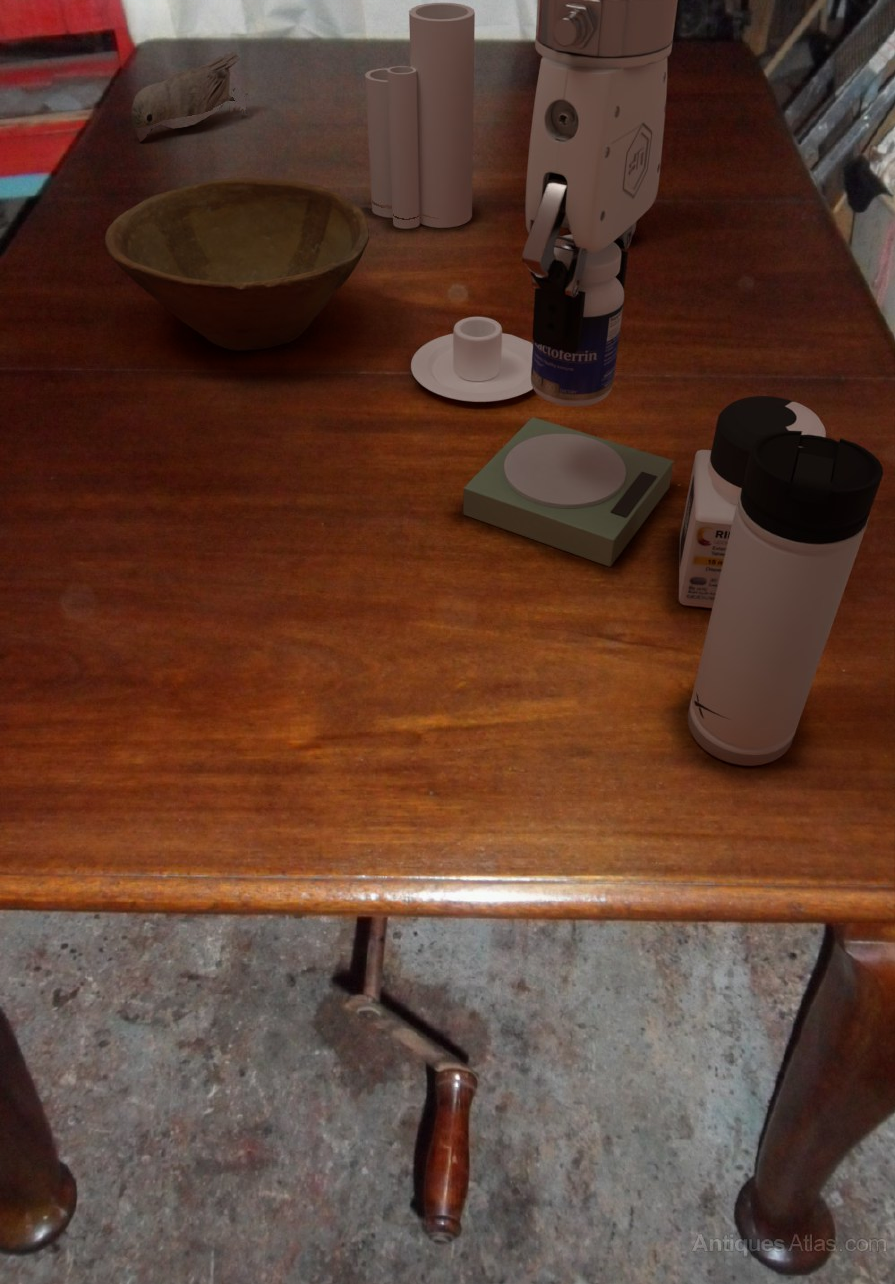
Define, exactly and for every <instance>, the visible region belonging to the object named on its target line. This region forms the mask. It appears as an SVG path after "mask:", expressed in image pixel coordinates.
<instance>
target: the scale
mask: <svg viewBox="0 0 895 1284" xmlns="http://www.w3.org/2000/svg"><path fill="white" fill-rule="evenodd" d="M674 464H675V461H674V460H672V459H669V458H666V457H663V456H659V455H657V454H654V453H650V452H647V451H644V450H641V449H638V448H634V447H631V446H628V445H625V444H621V443H618V442H614V441H612V440H609V439H605V438H602V437H599V436H595V435H592V434H589V433H587V432H583V431H579V430H576V429H574V428H569V427H566V426H563V425H560V424H557V423H554V422H552V421H551V422H550V421H547V420H545V419H541V418H538V417H534V416H532V417H531V418H530V419H528V421H526V423H525V424H524V425H523V426H521V428H520V429H519V430H518V431H517V432H516V433H515V434H514V435H513V436H512V437H511V439H509V441H508V442H507V443H505V444H504V446H503V447H502V448H501V449H499V450H498V452H496V454H494V456H493V457H492V458H491V459H490V460H489V461H488V462H487V463H486V464H485V465H484V466H483V467H482V468H481V469H480V470H479V471H478V472H477V473H476V475H475V476H473V477H472V479H470V481H468V482H467V484H466V485H465V486H464V487H463V499H462V501H463V505H462V506H463V507H462V508H463V510H462V511H463V516H466V517H469V518H472V519H475V520H477V521H479V522H483V523H485V524H487V525H491V526H494V527H497V528H499V529H501V530H505V531H508V532H511V533H514V534H516V535H519V536H522V537H525V538H528V539H530V540H533V541H536V542H538V543H542V544H544V545H547V546H550V547H552V548H556V549H558V550H561V551H564V552H566V553H570V554H572V555H575V556H577V557H581V558H584V559H586V560H589V561H592V562H594V563H598V564H600V565H602V566H605V567H608V568H611V567H612V566H613V565H614V563H615V562H616V560H617V559H618V558H619V556H620V555H621V553H622V552H623V551H624V549H626V547H627V545H628V544H629V543H630V541H631V540H632V538H633V537H634V536H635V535H636V533H637V532H638V530H639V529H640V528H641V526H642V525H643V524H644V523H645V521H646V519H647V518H648V517H649V516H650V514H651V513H652V511H653V510H654V509H655V507H656V506H657V505H658V504H659V502H660V500H661V499H662V498H663V497H664V495H665V494H666V493H667V492H668V490H669V488H670V487H671V480H672V474H673V470H674Z"/></svg>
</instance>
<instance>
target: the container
mask: <svg viewBox="0 0 895 1284" xmlns="http://www.w3.org/2000/svg"><path fill="white" fill-rule="evenodd" d="M779 431H802V434H801V435H815V436H821V437H827V433H826V427H825V426H824V424H823V422H822V421H821V419H820V417H819V416H818V415H817V414H816V413H815V412H814V411H813V410H811V409H810V408H808V407H807V406H805V405H804V404H801V403H799V402H797V401H794V400H791V399H788V398H783V397H779V396H769V395H754V396H747V397H743V398H740V399H737V400H735V401H733V402H732V403H730V404H729V405H727V406H726V407H725V408H723V409H722V410H721V411H720V412H719V415H718V416H717V421H716V426H715V430H714V436H713V441H712V445H711V450H710V449H698V450H697V451H696V453H695V455H694V460H693V465H692V470H691V475H690V481H689V486H688V491H687V495H686V502H685V507H684V511H683V516H682V517H683V518H682V523H681V526H680V527H681V528H680V534H679V566H678V572H679V573H678V602H679V603H680V604H681V605H683V606H688V607H699V608H705V609H712V608H713V604H714V600H715V596H716V591H717V587H718V583H719V578H720V574H721V570H722V566H723V561H724V557H725V553H726V548H727V544H728V540H729V536H730V531H731V527H732V523H733V519H734V514H735V510H736V506H737V504H738V497H739V493H740V490H741V488H742V485H743V482H744V479H745V472H746V468H747V464H748V459H749V455H750V451H751V447H752V446H753V444H754V442H755V441H757V440H758V439H759V438H761V437H763V436H765V435H767V434H770V433H774V432H779Z"/></svg>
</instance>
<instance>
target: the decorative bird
mask: <svg viewBox="0 0 895 1284" xmlns="http://www.w3.org/2000/svg"><path fill="white" fill-rule="evenodd" d="M238 54H239V53H238V52H237V51H233V52H230V53H226V54H224V55H223V56H221V55H219V56H218V57H216V58H214V59H213V60H211V61H208V62H207V63H205V64H203V65H202V66H197V67H193V68H188V69H186V70H182V71H180V72H176V73H175V74H173V75H172V76H170V77H167V78H166V79H165V80H163V81H161V82H156V83H152V84H149V85H147V86H145V87H143V88H141V89H140V90H139V91H138V92H137V93H136V94H135V97H134V99H133V101H132V104H131V121H132V126H133V127H134V126H135V127H137V128H142V127H146V126H150V125H153V124H156V123H159V122H161V121H163V120H169V119H175V118H180V117H187V116H192V115H198V114H203V113H205V112H208V111H211V110H213V108H215V107H217V106H219V105H221V104H223V103H224V104H225V102H229V101H236V99H235V100H234V98H235V97H234V98H233V97H231V94H230V83H231V82H230V79H231V78H230V77H231V72H230V69H231V67H233V66H234V65H235V64H236V63H237V62H239V61H240V60H241V57H240V56H239V55H238ZM235 90H236V87H235V88H233V89H232V91H234V92H235ZM245 95H247V96H248V93H245ZM224 104H223V105H224Z"/></svg>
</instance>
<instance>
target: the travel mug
mask: <svg viewBox="0 0 895 1284" xmlns="http://www.w3.org/2000/svg"><path fill="white" fill-rule="evenodd" d="M801 434H802V431H779V432H774V433H770V434H767V435H765V436H763V437H761V438H759V439H758V440H757V441H755V442H754V444H753V446H752V447H751V451H750V455H749V459H748V464H747V468H746V472H745V479H744V482H743V485H742V488H741V490H740V493H739V497H738V504H737V506H736V510H735V514H734V519H733V523H732V527H731V531H730V536H729V540H728V544H727V548H726V553H725V557H724V561H723V566H722V570H721V574H720V578H719V583H718V587H717V591H716V596H715V600H714V604H713V608H711V613H710V618H709V621H708V626H707V630H706V634H705V639H704V643H703V647H702V651H701V657H700V660H699V664H698V669H697V673H696V678H695V680H694V681H695V682H694V686H693V690H692V696H691V699H690V702H689V707H688V711H687V726H688V729H689V731H690V734H691V736H692V737H693V739H694V740H695V742H696V743H697V744H698V745H699V746H700V747H701V748H702V749H703V750H704V751H705V752H706V753H709V754H710V755H711V756H713V757H715V758H717V759H719V760H721V761H724V762H726V763H728V764H733V765H738V766H747V767H749V766H750V767H753V766H762V765H765V764H769V763H772V762H775V761H776V760H778V759H780V758H781V757H782V756H783V755H785V754H787V752H788V751H789V749H790V748H791V746H792V743H793V740H794V737H795V735H796V731H797V728H798V726H799V722H800V720H801V717H802V714H803V711H804V708H805V706H806V703H807V700H808V697H809V694H810V691H811V688H812V686H813V682H814V679H815V677H816V673H817V671H818V668H819V665H820V662H821V659H822V657H823V654H824V650H825V648H826V644H827V642H828V640H829V636H830V633H831V630H832V628H833V624H834V621H835V620H836V619H835V618H836V616H837V613H838V610H839V608H840V604H841V601H842V598H843V595H844V593H845V590H846V587H847V584H848V581H849V578H850V575H851V572H852V570H853V567H854V564H855V560H856V558H857V555H858V552H859V549H860V546H861V543H862V541H863V538H864V535H865V531H866V529H867V526H868V523H869V520H870V515H871V510H872V508H873V506H874V502H875V499H876V497H877V493H878V491H879V487H880V485H881V481H882V479H883V476H884V468H883V465H882V464H881V462H880V460H879V459H878V458H877V457H876V456H875V455H874V454H873V453H872V452H871V451H869V450H868V449H867V448H865V447H863V446H861V445H860V444H857V443H855V442H852V441H850V440H847V439H844V438H841V437H840V438H839V440H836V439H834V438H829V437H827V436H825V437H821V436H815V435H801Z"/></svg>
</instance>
